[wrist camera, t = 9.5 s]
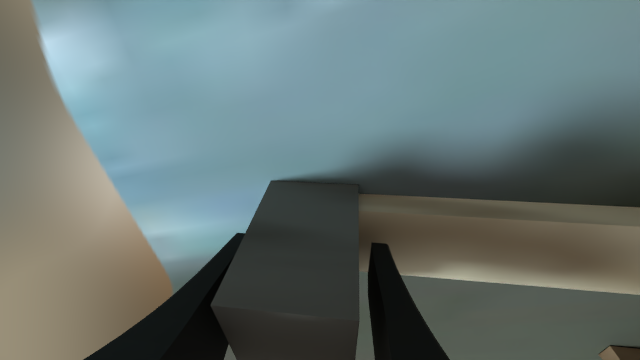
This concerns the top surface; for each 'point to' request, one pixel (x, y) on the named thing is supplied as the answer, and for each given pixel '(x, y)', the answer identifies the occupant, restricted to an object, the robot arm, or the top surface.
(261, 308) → the ash handle hammer
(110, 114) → the top surface
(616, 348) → the walnut bench
